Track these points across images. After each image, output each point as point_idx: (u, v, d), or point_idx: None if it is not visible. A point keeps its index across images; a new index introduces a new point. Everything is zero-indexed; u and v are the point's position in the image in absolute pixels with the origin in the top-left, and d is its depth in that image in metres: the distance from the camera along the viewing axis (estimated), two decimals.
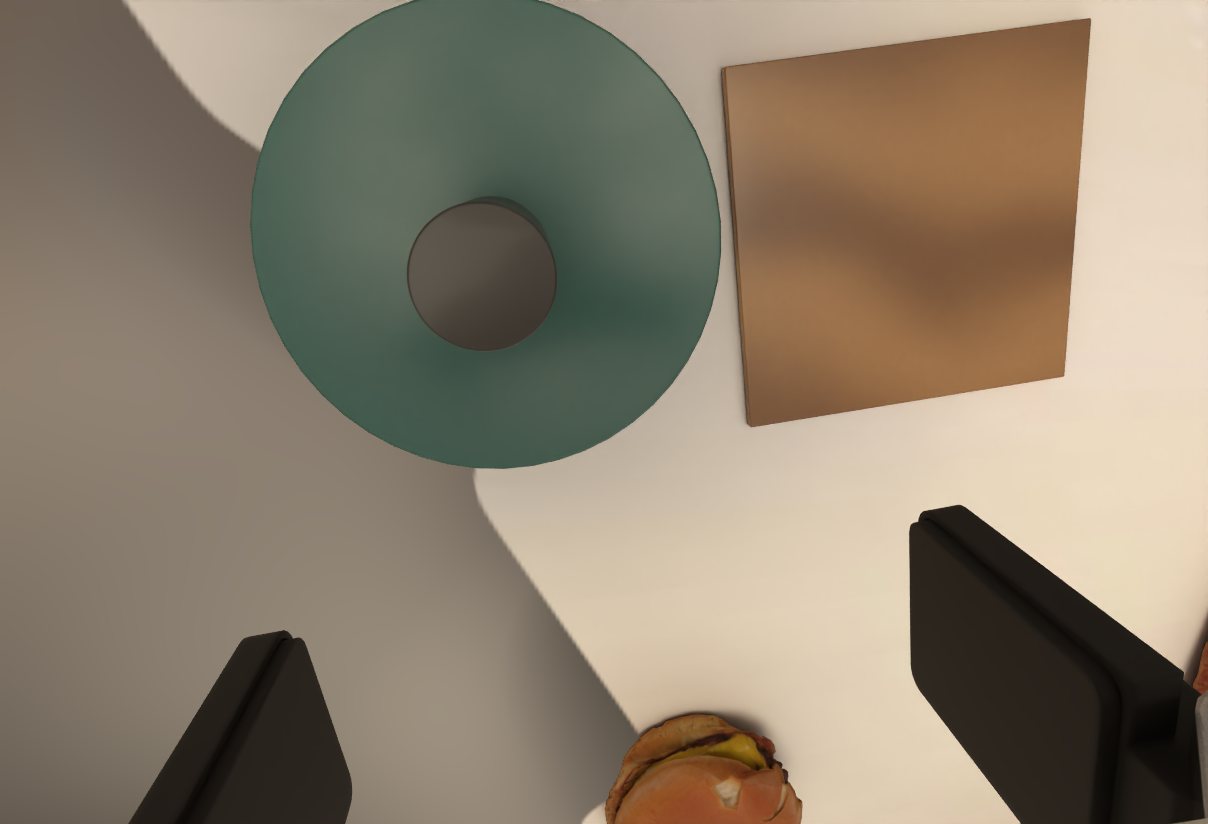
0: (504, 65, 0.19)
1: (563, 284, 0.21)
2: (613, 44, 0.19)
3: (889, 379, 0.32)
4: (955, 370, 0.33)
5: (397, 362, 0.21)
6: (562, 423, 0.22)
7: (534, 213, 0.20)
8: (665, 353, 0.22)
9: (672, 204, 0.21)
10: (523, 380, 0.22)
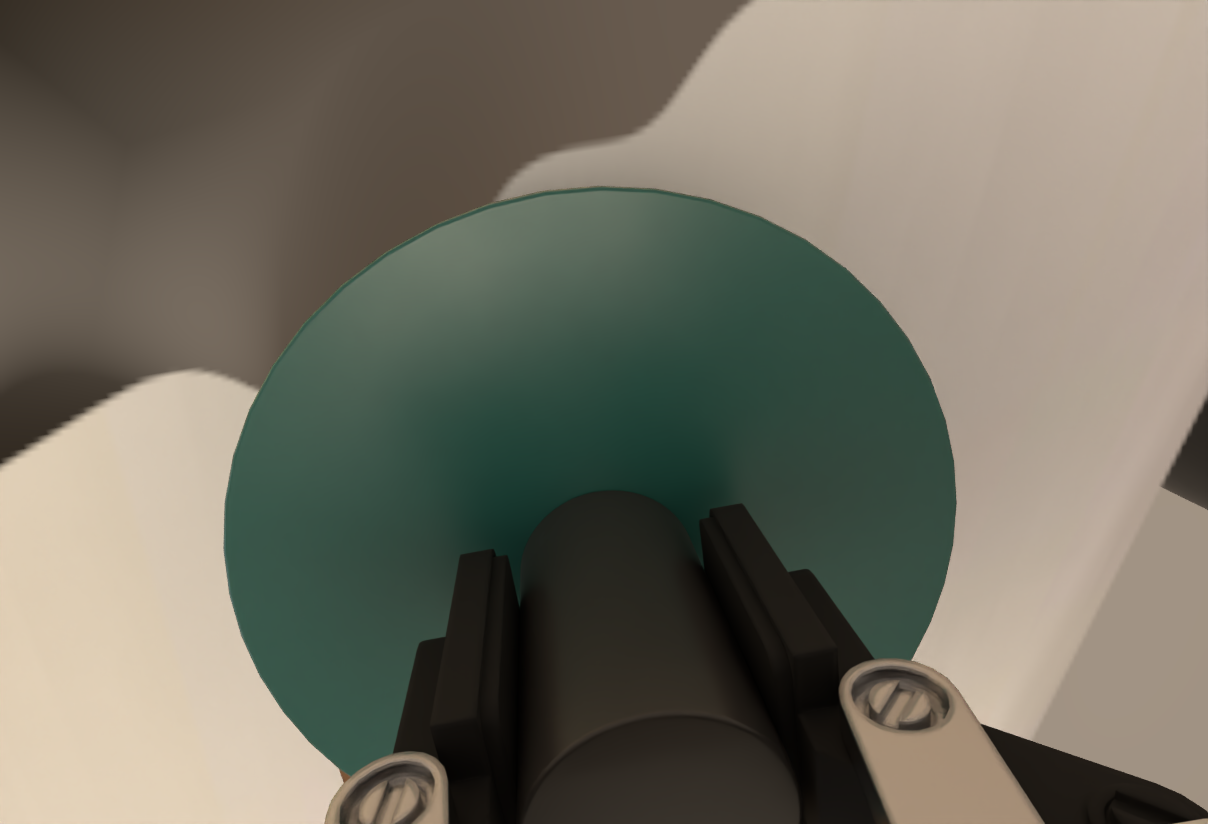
0: (864, 574, 0.14)
1: None
2: None
3: None
4: None
5: (418, 422, 0.12)
6: (329, 677, 0.13)
7: None
8: None
9: None
10: (401, 617, 0.13)
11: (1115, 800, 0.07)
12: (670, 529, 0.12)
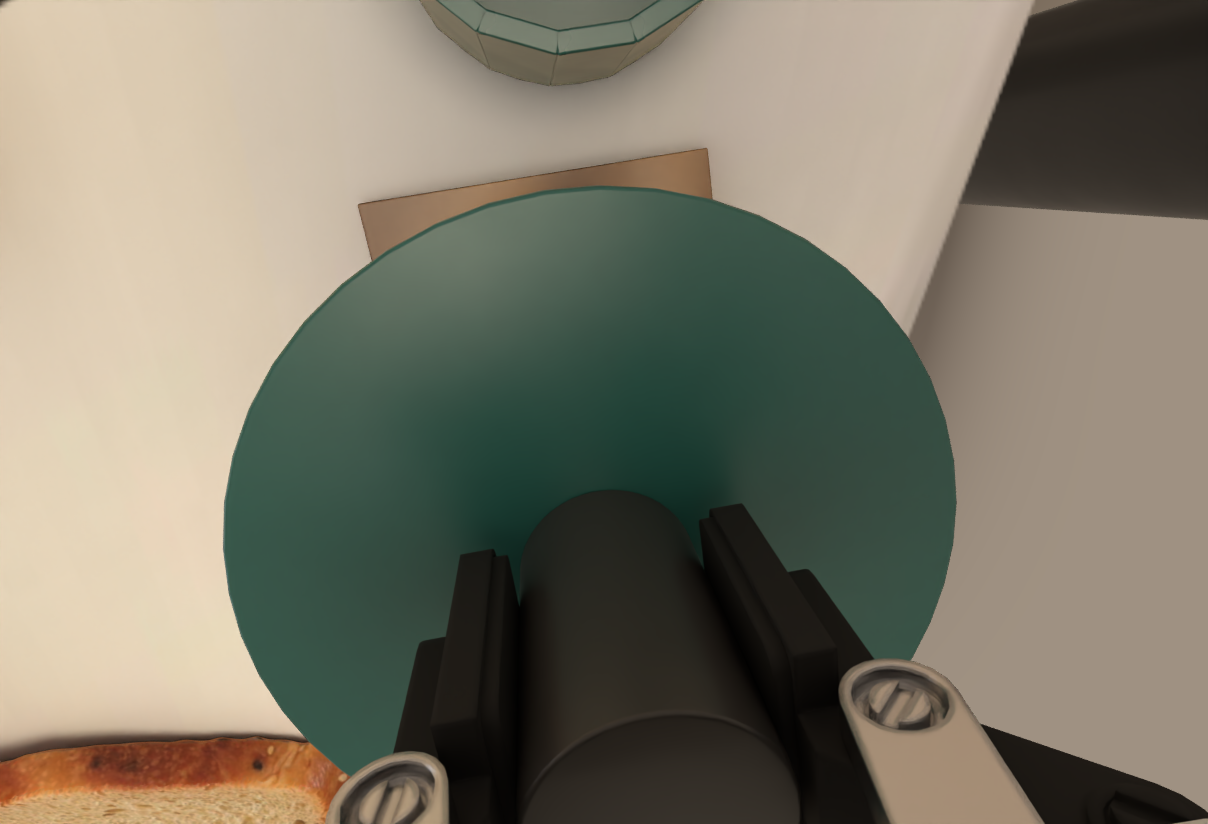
0: (864, 574, 0.14)
1: None
2: None
3: None
4: None
5: (417, 422, 0.12)
6: (328, 676, 0.13)
7: None
8: None
9: None
10: (400, 617, 0.13)
11: (1114, 800, 0.07)
12: (670, 529, 0.12)
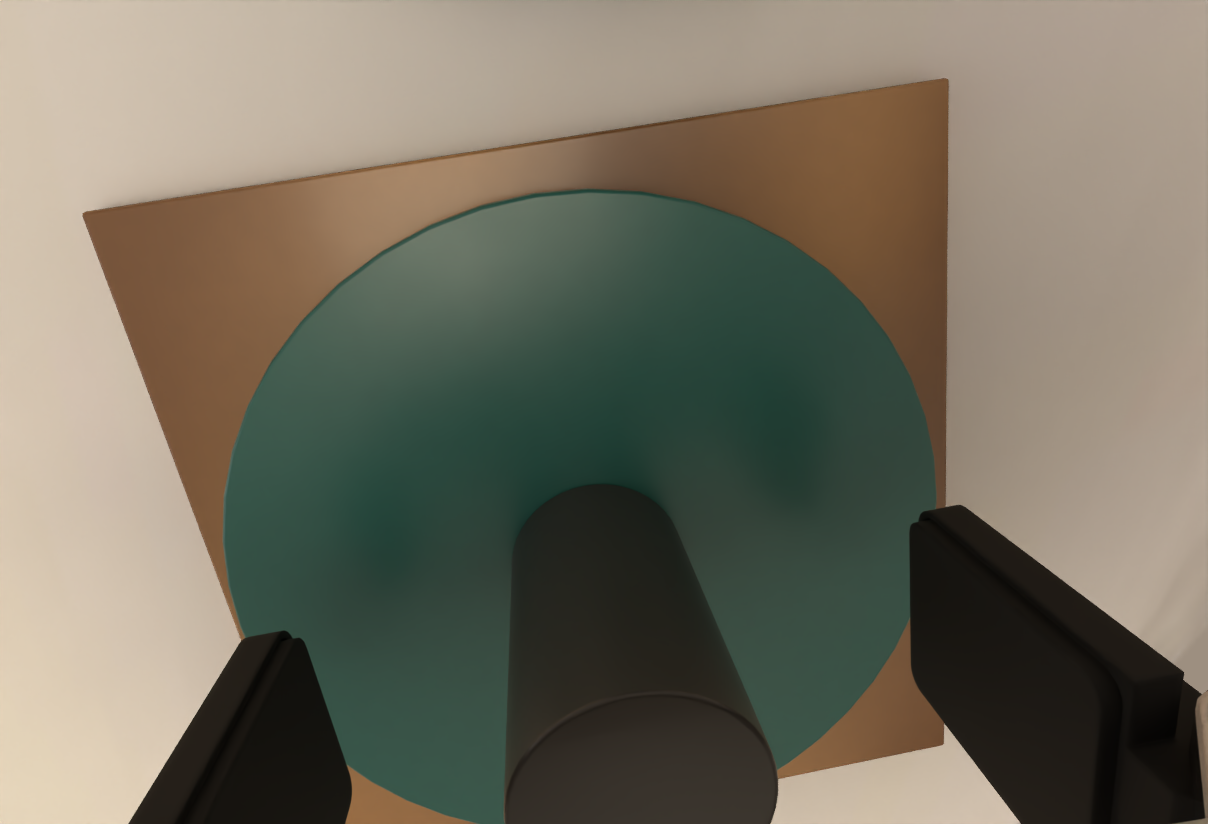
0: (847, 566, 0.14)
1: None
2: (860, 686, 0.15)
3: None
4: None
5: (412, 418, 0.12)
6: (325, 667, 0.14)
7: None
8: (455, 788, 0.15)
9: None
10: (395, 608, 0.13)
11: None
12: (657, 521, 0.12)
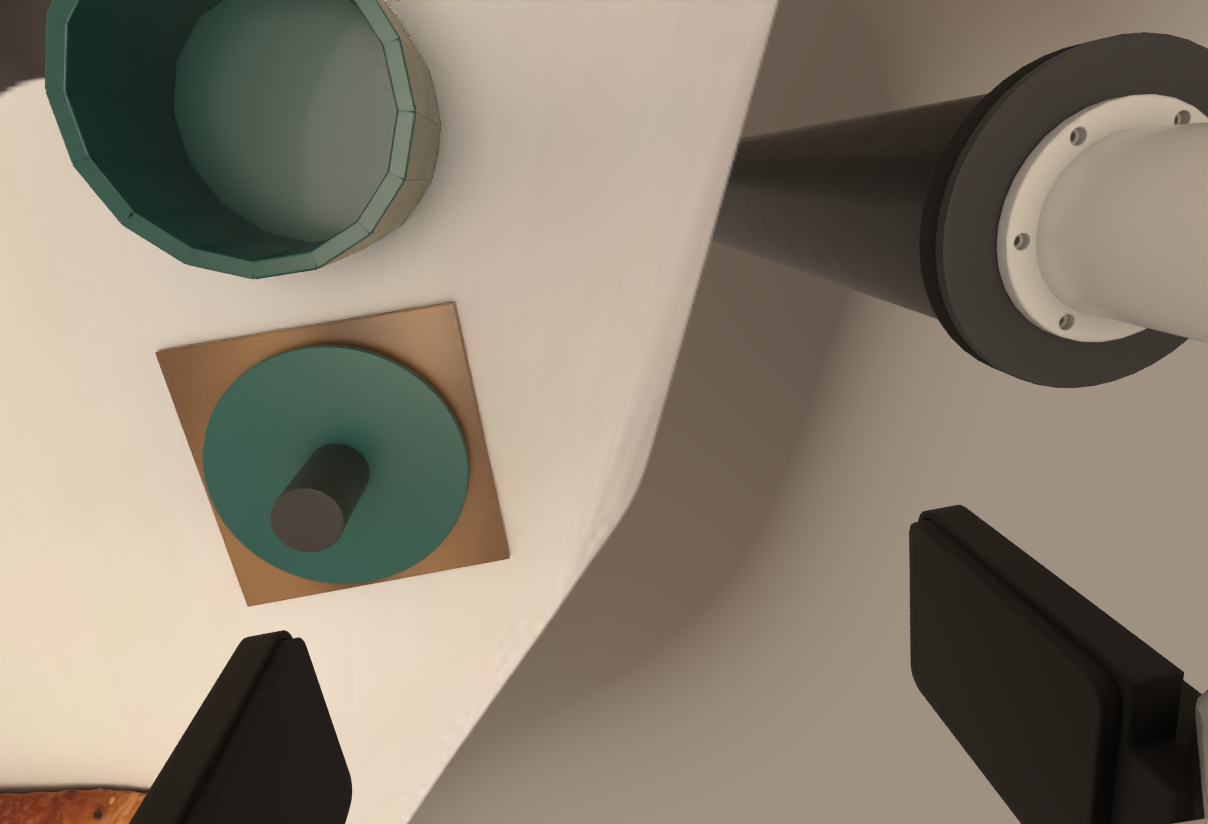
0: (435, 475, 0.38)
1: None
2: (450, 524, 0.39)
3: None
4: None
5: (266, 420, 0.36)
6: (240, 510, 0.37)
7: (363, 491, 0.38)
8: (292, 562, 0.39)
9: (376, 558, 0.39)
10: (264, 488, 0.37)
11: None
12: (348, 455, 0.36)
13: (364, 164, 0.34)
